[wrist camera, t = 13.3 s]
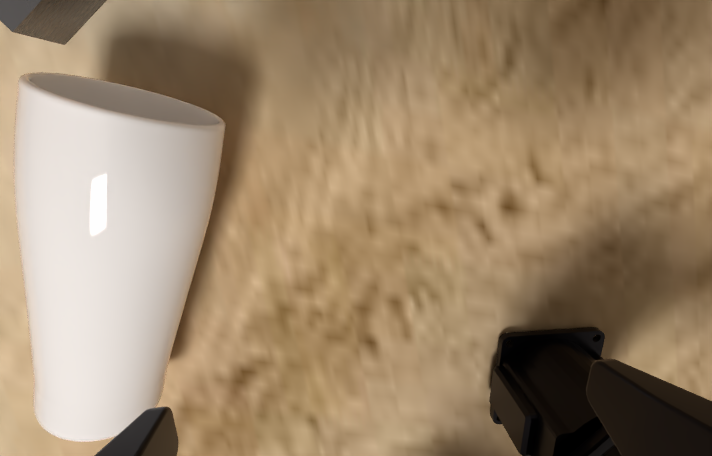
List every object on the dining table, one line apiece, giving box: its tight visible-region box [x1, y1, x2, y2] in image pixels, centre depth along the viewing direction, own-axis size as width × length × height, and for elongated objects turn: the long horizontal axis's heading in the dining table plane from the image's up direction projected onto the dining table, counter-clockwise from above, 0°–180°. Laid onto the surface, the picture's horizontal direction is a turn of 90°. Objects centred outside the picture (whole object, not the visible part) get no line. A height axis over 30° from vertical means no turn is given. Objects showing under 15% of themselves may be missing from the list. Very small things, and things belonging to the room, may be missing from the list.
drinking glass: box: [14, 72, 226, 442], centre depth 17 cm, size 7×7×15 cm
